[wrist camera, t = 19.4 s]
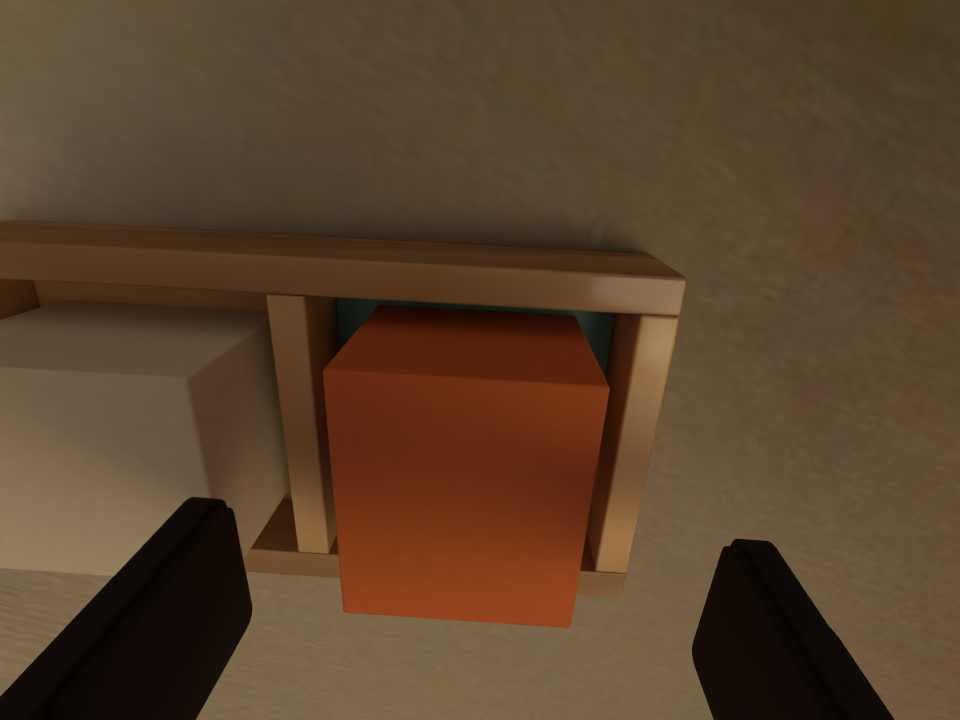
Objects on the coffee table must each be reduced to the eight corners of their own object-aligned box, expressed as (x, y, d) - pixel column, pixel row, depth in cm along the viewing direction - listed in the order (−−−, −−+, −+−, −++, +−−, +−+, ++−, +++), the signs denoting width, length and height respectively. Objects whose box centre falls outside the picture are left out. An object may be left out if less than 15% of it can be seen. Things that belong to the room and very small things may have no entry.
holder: (8, 219, 15) (-116, 234, 12) (650, 253, 15) (690, 277, 12) (95, 493, 19) (18, 556, 16) (602, 526, 19) (621, 597, 16)
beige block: (61, 299, 15) (-129, 359, 11) (282, 311, 15) (185, 378, 11) (109, 460, 18) (-31, 567, 13) (300, 471, 17) (228, 585, 13)
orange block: (377, 304, 15) (321, 370, 10) (576, 315, 15) (611, 387, 10) (384, 493, 17) (342, 613, 13) (552, 503, 17) (571, 629, 13)
